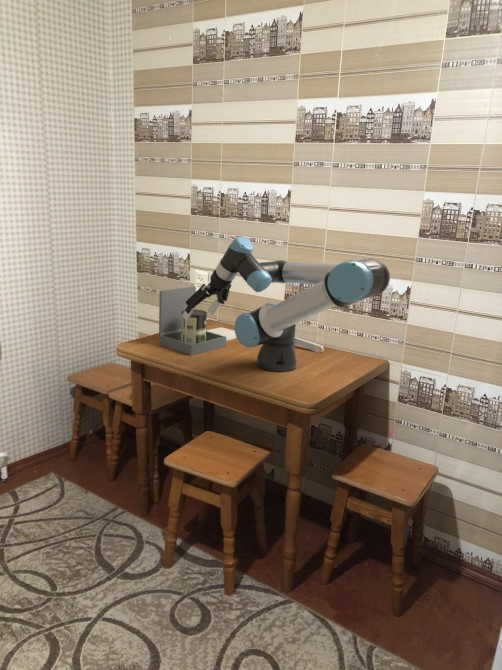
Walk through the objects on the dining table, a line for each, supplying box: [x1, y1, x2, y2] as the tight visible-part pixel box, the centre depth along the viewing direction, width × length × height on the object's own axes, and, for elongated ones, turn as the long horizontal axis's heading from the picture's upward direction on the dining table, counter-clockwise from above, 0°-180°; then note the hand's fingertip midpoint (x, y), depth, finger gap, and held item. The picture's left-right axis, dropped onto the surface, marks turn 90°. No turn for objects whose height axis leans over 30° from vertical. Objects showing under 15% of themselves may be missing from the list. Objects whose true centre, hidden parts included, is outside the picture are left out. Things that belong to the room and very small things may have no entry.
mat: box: [206, 326, 237, 342], centre depth 235 cm, size 16×16×1 cm
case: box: [158, 285, 227, 356], centre depth 214 cm, size 19×20×22 cm
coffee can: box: [181, 309, 208, 345], centre depth 215 cm, size 10×10×14 cm
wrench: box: [294, 336, 325, 354], centre depth 224 cm, size 8×2×30 cm
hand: (197, 315), depth 201 cm, fingers open, 13 cm apart
